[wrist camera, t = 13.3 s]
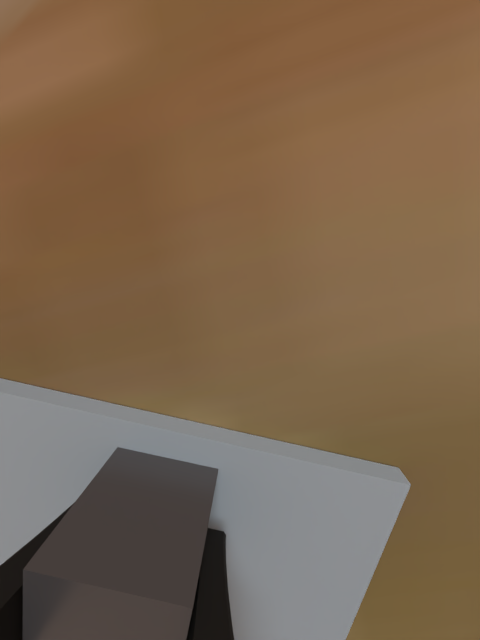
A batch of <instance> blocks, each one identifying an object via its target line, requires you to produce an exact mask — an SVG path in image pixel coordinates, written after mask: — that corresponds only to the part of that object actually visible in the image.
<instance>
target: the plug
mask: <svg viewBox="0 0 480 640" xmlns="http://www.w3.org/2000/svg"><path fill="white" fill-rule="evenodd" d="M217 475H218V469H217V468H212V467H208V466H203V465H198V464H194V463H189V462H184V461H180V460H175V459H170V458H166V457H161V456H157V455H152V454H147V453H143V452H138V451H133V450H129V449H124V448H119V447H117V448H116V450H115V451H114V452H113V454H112V455H111V456H110V458H109V459H108V460H107V461H106V463H105V464H104V465H103V467H102V468H101V469H100V470H99V472H98V473H97V474H96V476H95V477H94V478H93V480H92V481H91V482H90V483H89V485H88V486H87V487H86V489H85V490H84V491H83V492H82V494H81V495H80V496H79V498H78V499H77V500H76V502H75V503H74V504H73V505H72V507H71V508H70V509H69V511H68V512H67V513H66V514H65V516H64V517H63V518H62V520H61V521H60V522H59V524H58V525H57V526H56V527H55V529H54V530H53V531H52V533H51V534H50V535H49V536H48V538H47V539H46V540H45V542H44V543H43V544H42V546H41V547H40V548H39V549H38V551H37V552H36V553H35V555H34V556H33V557H32V558H31V560H30V561H29V562H28V564H27V565H26V566H25V567H24V569H23V633H22V640H186V638H187V634H188V629H189V624H190V619H191V615H192V610H193V605H194V599H195V594H196V588H197V583H198V578H199V572H200V567H201V561H202V556H203V550H204V545H205V540H206V534H207V529H208V523H209V518H210V513H211V507H212V502H213V496H214V491H215V486H216V480H217Z"/></svg>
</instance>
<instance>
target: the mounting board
mask: <svg viewBox="0 0 480 640" xmlns="http://www.w3.org/2000/svg"><path fill="white" fill-rule="evenodd" d="M117 447H119V448H124V449H129V450H133V451H138V452H143V453H147V454H152V455H157V456H161V457H166V458H170V459H175V460H180V461H184V462H189V463H194V464H198V465H203V466H208V467H212V468H217V469H218V475H217V480H216V486H215V491H214V496H213V502H212V507H211V513H210V518H209V523H208V528H211V529H215V530H220V531H224V533H225V534H226V568H227V582H228V593H229V602H230V610H231V619H232V627H233V634H234V640H346V637H347V635H348V633H349V630H350V628H351V626H352V623H353V621H354V618H355V616H356V614H357V611H358V609H359V607H360V604H361V602H362V599H363V597H364V595H365V592H366V590H367V588H368V585H369V583H370V581H371V578H372V576H373V573H374V571H375V569H376V566H377V564H378V562H379V559H380V557H381V554H382V552H383V550H384V547H385V545H386V543H387V540H388V538H389V536H390V533H391V531H392V528H393V526H394V524H395V521H396V519H397V517H398V514H399V512H400V509H401V507H402V505H403V502H404V500H405V498H406V495H407V493H408V491H409V488H410V486H411V484H410V483H409V482H408V480H407V479H406V477H405V476H404V475H403V473H402V472H401V470H400V469H399V468H397V467H393V466H388V465H384V464H379V463H375V462H371V461H366V460H362V459H357V458H353V457H348V456H344V455H339V454H335V453H330V452H326V451H322V450H317V449H313V448H308V447H304V446H299V445H295V444H290V443H286V442H282V441H277V440H273V439H268V438H264V437H259V436H255V435H250V434H246V433H241V432H237V431H233V430H228V429H224V428H219V427H215V426H210V425H206V424H201V423H197V422H193V421H188V420H184V419H179V418H175V417H170V416H166V415H161V414H157V413H152V412H148V411H144V410H139V409H135V408H130V407H126V406H121V405H117V404H112V403H108V402H104V401H99V400H95V399H90V398H86V397H81V396H77V395H72V394H68V393H63V392H59V391H55V390H50V389H46V388H41V387H37V386H32V385H28V384H23V383H19V382H15V381H10V380H6V379H1V378H0V565H1V564H3V563H4V562H5V561H6V560H7V559H9V558H10V557H11V556H12V555H14V554H15V553H16V552H17V551H18V550H20V549H21V548H22V547H23V546H24V545H26V544H27V543H28V542H29V541H31V540H32V539H33V538H34V537H35V536H36V535H38V534H39V533H40V532H41V531H42V530H43V529H45V528H46V527H47V526H48V525H49V524H50V523H52V522H53V521H54V520H55V519H56V518H57V517H59V516H60V515H61V514H62V513H63V512H64V511H65V510H67V509H68V508H69V507H70V506H71V505H72V504H73V503H74V502H76V500H77V499H78V498H79V496H80V495H81V494H82V492H83V491H84V490H85V489H86V487H87V486H88V485H89V483H90V482H91V481H92V480H93V478H94V477H95V476H96V474H97V473H98V472H99V470H100V469H101V468H102V467H103V465H104V464H105V463H106V461H107V460H108V459H109V458H110V456H111V455H112V454H113V452H114V451H115V450H116V448H117Z"/></svg>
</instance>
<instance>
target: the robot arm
mask: <svg viewBox="0 0 480 640" xmlns="http://www.w3.org/2000/svg"><path fill="white" fill-rule="evenodd" d="M74 503H75V502H74ZM74 503H73V504H74ZM73 504H72V505H73ZM72 505H71V506H70V507H69V508H68V509H67V510H65V511H64V512H63V513H62V514H61V515H60V516H59V517H57V518H56V519H55V520H54V521H53V522H52V523H50V524H49V525H48V526H47V527H46V528H45V529H43V530H42V531H41V532H40V533H39V534H38V535H36V536H35V537H34V538H33V539H32V540H31V541H29V542H28V543H27V544H26V545H24V546H23V547H22V548H21V549H20V550H18V551H17V552H16V553H15V554H14V555H12V556H11V557H10V558H9V559H7V560H6V561H5V562H4V563H3V564H1V565H0V640H22V633H23V569H24V567H25V566H26V565H27V564H28V562H29V561H30V560H31V558H32V557H33V556H34V555H35V553H36V552H37V551H38V549H39V548H40V547H41V546H42V544H43V543H44V542H45V540H46V539H47V538H48V536H49V535H50V534H51V533H52V531H53V530H54V529H55V527H56V526H57V525H58V524H59V522H60V521H61V520H62V518H63V517H64V516H65V514H66V513H67V512H68V511H69V509H70V508H71V507H72ZM186 640H234V634H233V627H232V619H231V610H230V602H229V593H228V582H227V568H226V534H225V533H224V531H220V530H215V529H211V528H208V529H207V534H206V540H205V545H204V550H203V556H202V561H201V567H200V572H199V578H198V583H197V588H196V594H195V599H194V605H193V610H192V615H191V619H190V624H189V629H188V634H187V638H186Z"/></svg>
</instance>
